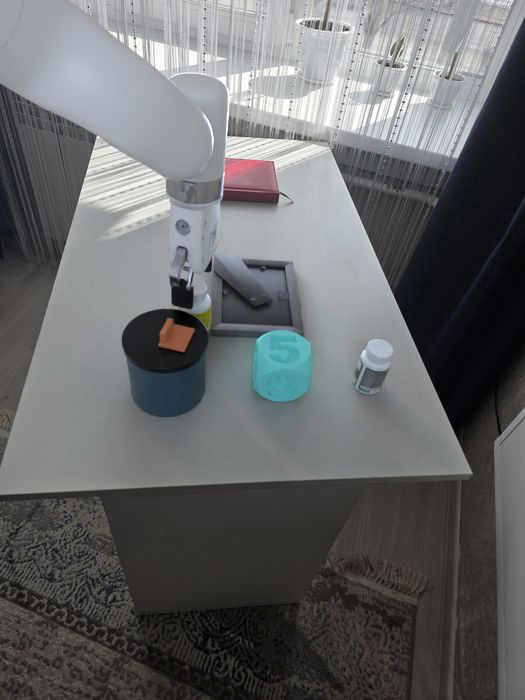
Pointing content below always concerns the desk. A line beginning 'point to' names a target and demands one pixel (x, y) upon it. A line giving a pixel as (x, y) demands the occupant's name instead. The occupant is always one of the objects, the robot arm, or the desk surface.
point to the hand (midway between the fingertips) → (192, 287)
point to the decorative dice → (282, 366)
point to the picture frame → (254, 297)
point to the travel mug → (165, 364)
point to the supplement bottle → (200, 304)
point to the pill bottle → (373, 366)
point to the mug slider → (175, 336)
